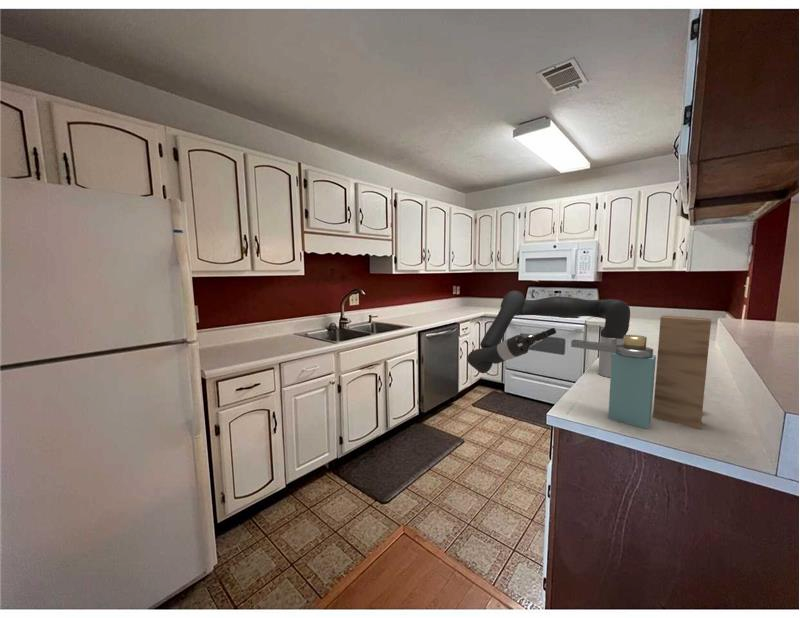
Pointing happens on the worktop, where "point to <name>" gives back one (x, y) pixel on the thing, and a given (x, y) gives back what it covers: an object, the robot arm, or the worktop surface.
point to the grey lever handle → (620, 347)
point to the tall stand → (681, 369)
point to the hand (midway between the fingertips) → (550, 332)
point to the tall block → (631, 390)
